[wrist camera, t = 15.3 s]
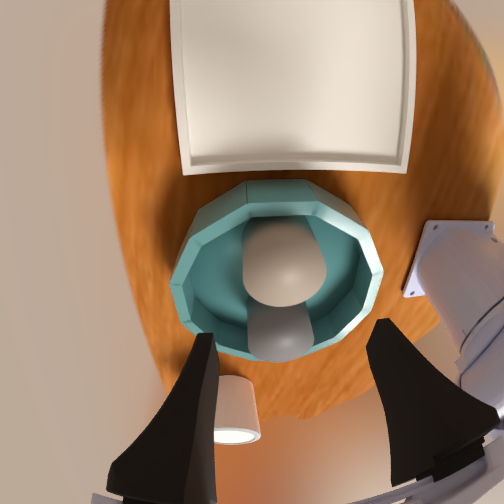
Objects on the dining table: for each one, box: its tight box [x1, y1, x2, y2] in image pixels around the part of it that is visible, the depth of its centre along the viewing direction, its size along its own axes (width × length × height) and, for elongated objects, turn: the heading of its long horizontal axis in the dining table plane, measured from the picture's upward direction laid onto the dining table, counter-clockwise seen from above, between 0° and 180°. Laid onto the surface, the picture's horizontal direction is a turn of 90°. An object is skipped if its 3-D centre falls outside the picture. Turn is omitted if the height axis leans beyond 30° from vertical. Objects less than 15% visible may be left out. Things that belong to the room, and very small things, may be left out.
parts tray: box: [170, 0, 416, 175], centre depth 13 cm, size 14×13×1 cm
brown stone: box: [242, 215, 327, 307], centre depth 17 cm, size 5×5×4 cm
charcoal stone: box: [247, 296, 314, 362], centre depth 20 cm, size 5×5×4 cm
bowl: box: [169, 179, 384, 361], centre depth 20 cm, size 14×14×4 cm
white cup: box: [214, 375, 261, 445], centre depth 29 cm, size 7×7×7 cm
